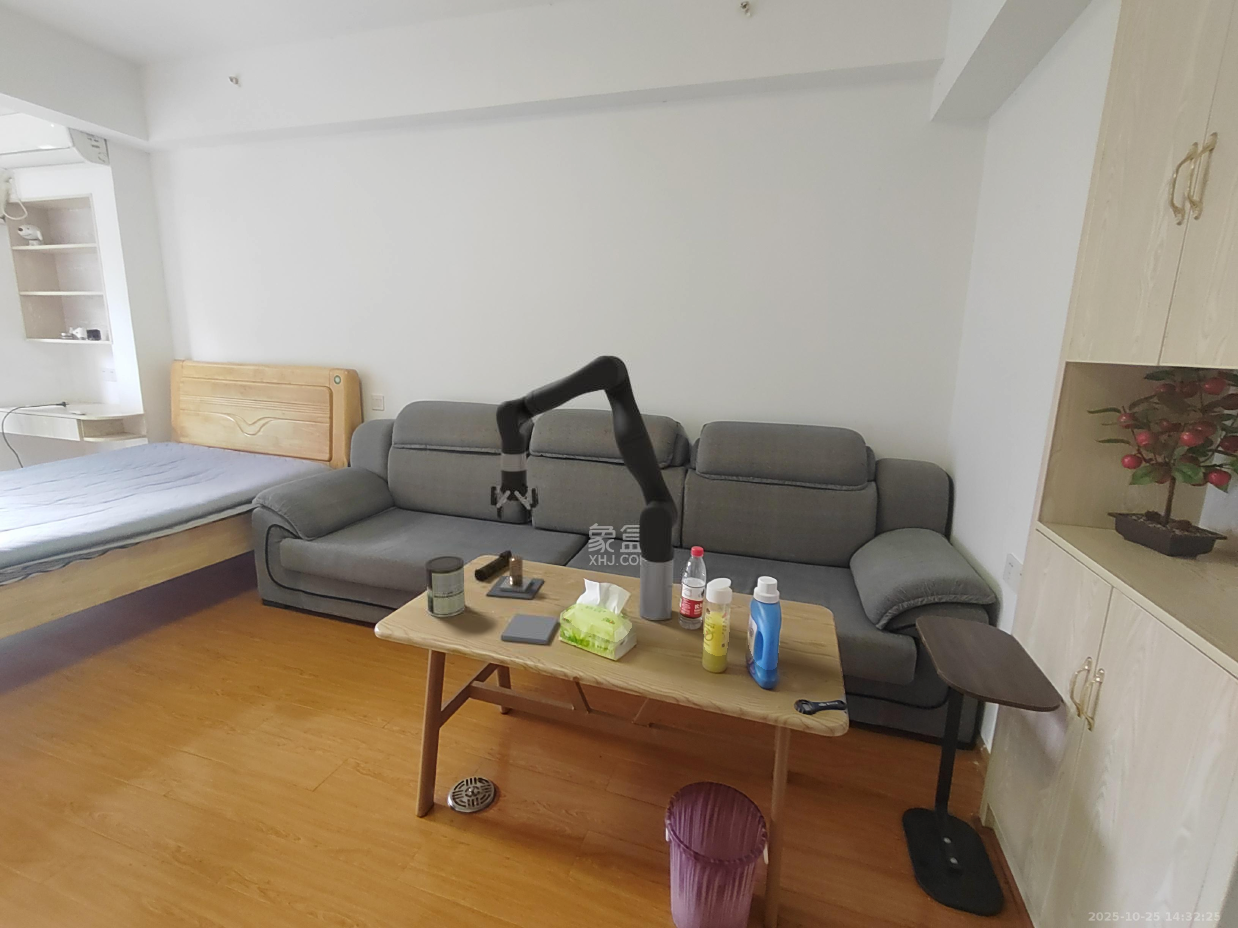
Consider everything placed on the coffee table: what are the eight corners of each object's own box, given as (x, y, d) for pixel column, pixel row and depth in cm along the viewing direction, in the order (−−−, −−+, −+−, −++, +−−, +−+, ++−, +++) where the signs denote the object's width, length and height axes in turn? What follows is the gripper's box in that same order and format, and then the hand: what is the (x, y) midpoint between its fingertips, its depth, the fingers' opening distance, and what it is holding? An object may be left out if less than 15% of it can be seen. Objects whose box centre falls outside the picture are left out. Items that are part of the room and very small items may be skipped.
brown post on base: (532, 582, 176) (532, 554, 174) (525, 592, 169) (524, 564, 167) (508, 580, 177) (507, 552, 175) (499, 590, 170) (499, 562, 168)
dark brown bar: (484, 582, 177) (483, 568, 176) (474, 579, 179) (473, 566, 178) (518, 562, 194) (518, 550, 193) (508, 560, 196) (508, 548, 195)
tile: (558, 617, 152) (546, 639, 141) (558, 623, 153) (546, 646, 141) (516, 613, 154) (500, 635, 142) (516, 619, 154) (501, 641, 143)
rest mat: (543, 580, 179) (543, 578, 179) (531, 599, 165) (531, 597, 165) (501, 577, 181) (501, 575, 181) (486, 595, 167) (486, 594, 167)
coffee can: (419, 612, 156) (417, 565, 153) (445, 598, 165) (443, 553, 162) (447, 620, 152) (445, 572, 149) (473, 605, 161) (471, 559, 158)
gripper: (540, 466, 168) (541, 517, 171) (495, 463, 170) (496, 514, 173) (533, 471, 161) (534, 524, 164) (486, 469, 162) (487, 522, 166)
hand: (514, 519), depth 168 cm, fingers open, 8 cm apart
